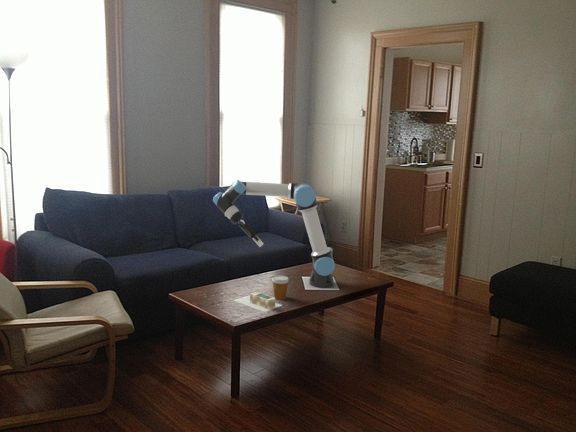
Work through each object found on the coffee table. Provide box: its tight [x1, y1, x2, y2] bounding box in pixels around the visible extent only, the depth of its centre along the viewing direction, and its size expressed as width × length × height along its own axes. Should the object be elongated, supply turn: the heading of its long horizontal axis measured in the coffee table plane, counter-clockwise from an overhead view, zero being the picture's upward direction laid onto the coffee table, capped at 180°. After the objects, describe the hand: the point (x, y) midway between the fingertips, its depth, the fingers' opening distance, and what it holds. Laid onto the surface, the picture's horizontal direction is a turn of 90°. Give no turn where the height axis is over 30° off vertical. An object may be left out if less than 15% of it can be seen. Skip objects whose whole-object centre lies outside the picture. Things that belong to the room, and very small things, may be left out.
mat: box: [233, 294, 283, 313], centre depth 287 cm, size 24×14×1 cm, turn 49°
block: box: [249, 291, 276, 310], centre depth 284 cm, size 5×5×14 cm
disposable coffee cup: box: [271, 275, 290, 301], centre depth 295 cm, size 10×10×12 cm
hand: (261, 245), depth 296 cm, fingers closed
